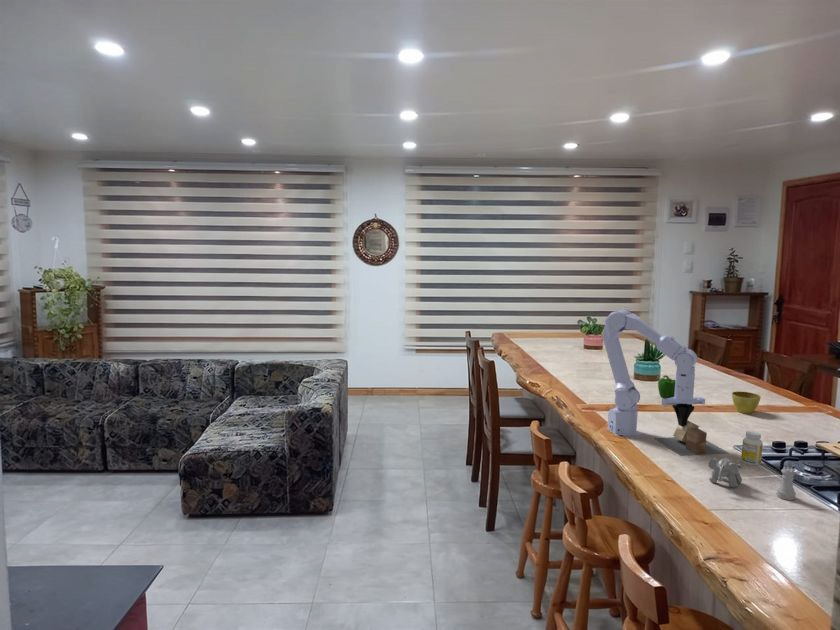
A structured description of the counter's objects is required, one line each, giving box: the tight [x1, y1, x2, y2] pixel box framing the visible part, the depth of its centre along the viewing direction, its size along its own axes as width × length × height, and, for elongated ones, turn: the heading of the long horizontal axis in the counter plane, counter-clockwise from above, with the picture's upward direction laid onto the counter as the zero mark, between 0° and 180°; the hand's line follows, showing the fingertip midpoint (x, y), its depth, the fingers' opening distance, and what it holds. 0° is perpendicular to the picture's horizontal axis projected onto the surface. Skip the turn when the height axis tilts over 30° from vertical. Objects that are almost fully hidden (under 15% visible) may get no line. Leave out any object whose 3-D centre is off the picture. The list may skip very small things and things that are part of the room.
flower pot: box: [731, 390, 762, 415], centre depth 225 cm, size 10×10×7 cm
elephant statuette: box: [708, 457, 743, 489], centre depth 157 cm, size 9×12×8 cm
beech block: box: [672, 419, 700, 443], centre depth 189 cm, size 4×5×7 cm
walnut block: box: [686, 427, 708, 454], centre depth 181 cm, size 4×5×7 cm
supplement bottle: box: [740, 430, 764, 466], centre depth 173 cm, size 5×5×10 cm
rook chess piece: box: [776, 466, 797, 501], centre depth 149 cm, size 4×4×8 cm
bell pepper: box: [657, 374, 676, 399], centre depth 245 cm, size 8×8×10 cm
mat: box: [653, 436, 729, 457], centre depth 187 cm, size 17×16×1 cm
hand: (681, 425), depth 188 cm, fingers closed
